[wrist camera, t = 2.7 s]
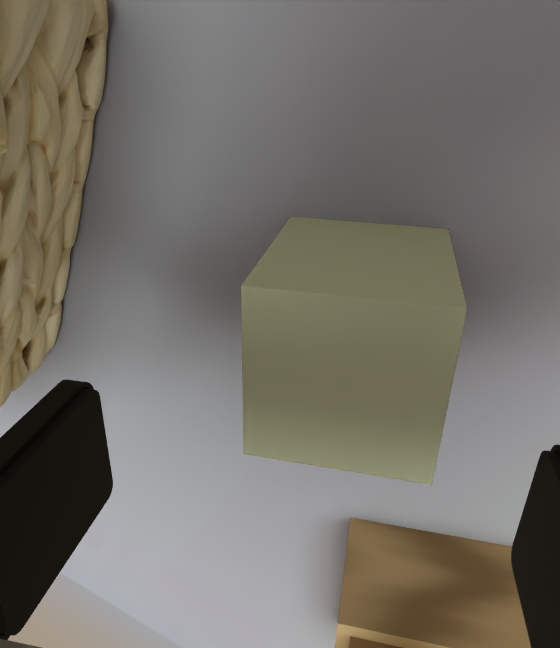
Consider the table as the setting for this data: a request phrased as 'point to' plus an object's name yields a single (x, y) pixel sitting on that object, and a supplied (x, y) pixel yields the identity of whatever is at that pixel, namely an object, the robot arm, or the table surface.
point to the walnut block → (367, 644)
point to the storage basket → (43, 165)
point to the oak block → (428, 590)
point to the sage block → (351, 346)
